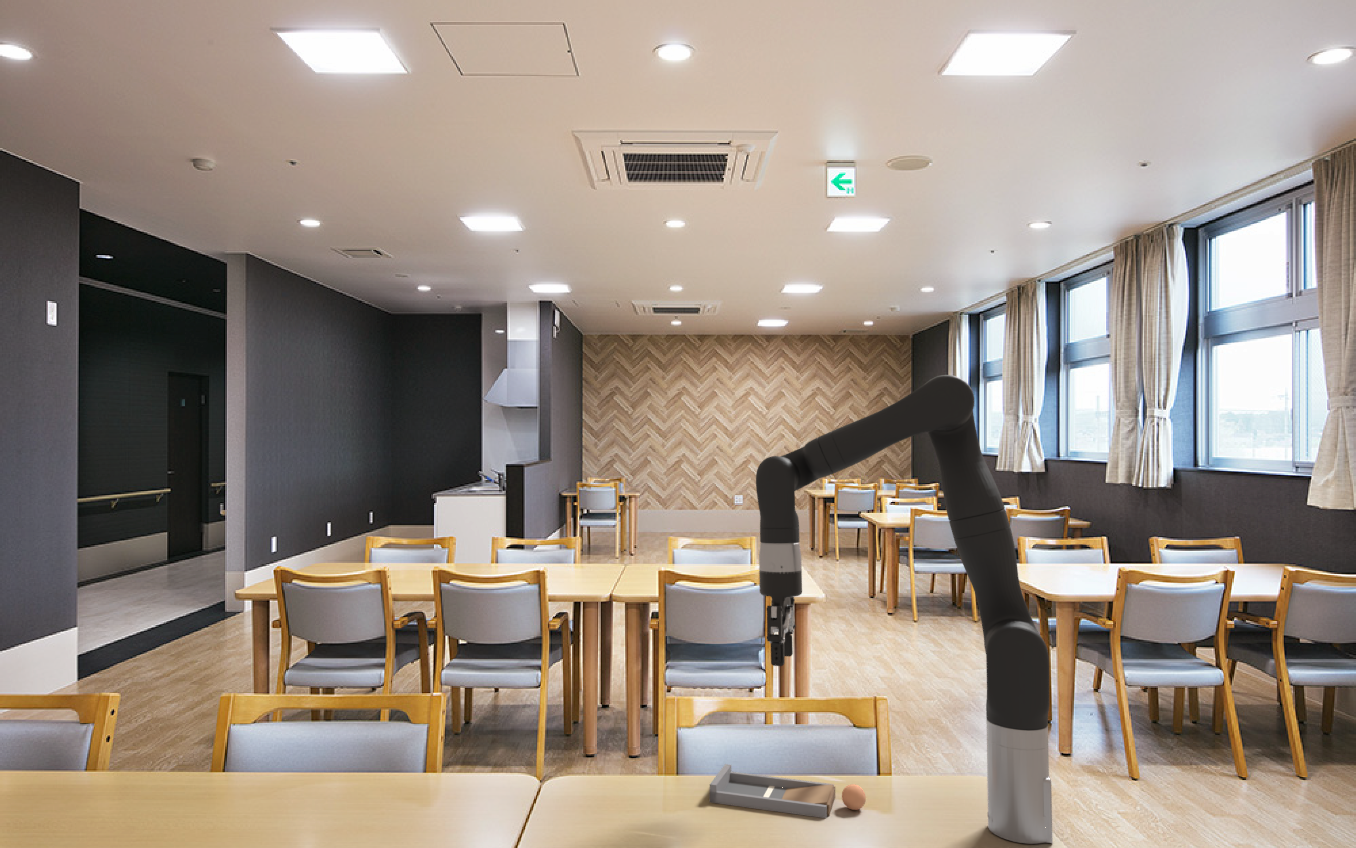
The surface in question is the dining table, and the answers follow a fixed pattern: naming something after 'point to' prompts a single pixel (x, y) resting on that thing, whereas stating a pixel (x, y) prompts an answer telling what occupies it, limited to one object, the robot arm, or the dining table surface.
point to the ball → (853, 797)
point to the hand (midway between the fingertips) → (782, 660)
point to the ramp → (812, 795)
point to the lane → (761, 793)
